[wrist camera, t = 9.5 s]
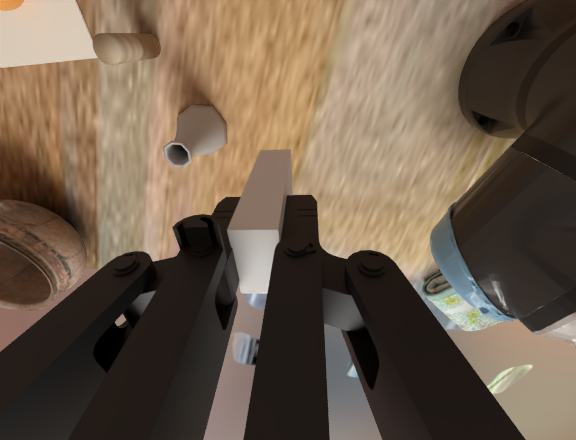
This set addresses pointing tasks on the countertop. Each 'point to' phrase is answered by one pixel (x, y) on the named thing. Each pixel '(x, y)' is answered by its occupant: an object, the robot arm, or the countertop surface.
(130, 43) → the post
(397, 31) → the countertop surface
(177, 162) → the flask
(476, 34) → the countertop surface
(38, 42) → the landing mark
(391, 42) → the countertop surface
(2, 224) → the cooking pot
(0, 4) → the ball
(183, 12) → the countertop surface
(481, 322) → the towel
